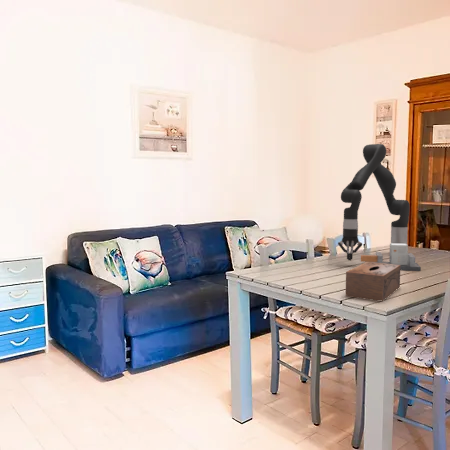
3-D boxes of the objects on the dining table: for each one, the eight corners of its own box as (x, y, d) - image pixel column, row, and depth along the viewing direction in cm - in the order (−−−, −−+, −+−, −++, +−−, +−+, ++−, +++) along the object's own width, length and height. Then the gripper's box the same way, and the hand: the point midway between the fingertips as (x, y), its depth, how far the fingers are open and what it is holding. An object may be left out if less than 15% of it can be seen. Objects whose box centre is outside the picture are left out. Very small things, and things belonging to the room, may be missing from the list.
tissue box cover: (382, 302, 173) (383, 276, 172) (345, 296, 181) (346, 271, 180) (399, 288, 194) (400, 265, 193) (365, 284, 202) (366, 261, 201)
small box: (405, 263, 237) (405, 243, 236) (407, 265, 231) (408, 244, 230) (389, 263, 238) (389, 243, 237) (391, 265, 233) (391, 244, 231)
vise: (364, 264, 245) (365, 251, 244) (416, 266, 238) (417, 253, 238) (366, 269, 233) (366, 255, 233) (420, 271, 227) (421, 257, 226)
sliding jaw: (360, 260, 245) (360, 251, 245) (380, 261, 243) (380, 252, 242) (361, 264, 234) (361, 255, 233) (382, 265, 231) (382, 256, 231)
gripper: (337, 228, 237) (336, 261, 239) (363, 228, 234) (363, 262, 235) (337, 226, 244) (336, 258, 246) (363, 227, 241) (362, 259, 243)
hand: (349, 260), depth 241 cm, fingers closed
